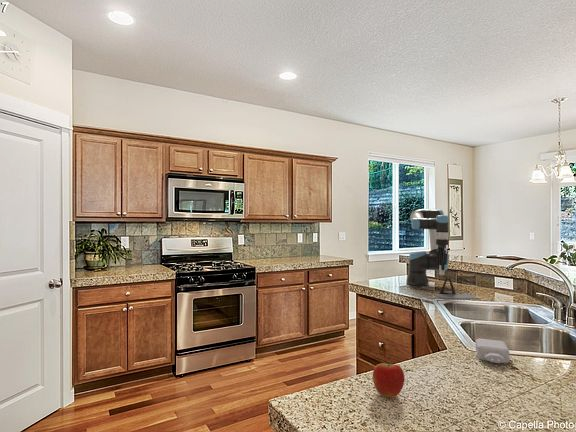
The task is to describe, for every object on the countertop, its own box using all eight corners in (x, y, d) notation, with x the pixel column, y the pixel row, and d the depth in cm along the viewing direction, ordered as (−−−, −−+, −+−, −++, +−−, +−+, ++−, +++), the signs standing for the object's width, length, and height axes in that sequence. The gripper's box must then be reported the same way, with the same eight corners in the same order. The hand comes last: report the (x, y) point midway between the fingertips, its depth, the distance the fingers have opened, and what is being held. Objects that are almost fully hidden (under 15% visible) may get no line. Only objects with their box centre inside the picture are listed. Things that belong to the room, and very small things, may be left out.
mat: (433, 294, 228) (433, 294, 228) (468, 294, 230) (468, 294, 230) (443, 299, 216) (443, 298, 216) (479, 299, 218) (479, 298, 218)
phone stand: (440, 292, 232) (440, 273, 233) (440, 292, 238) (440, 273, 239) (455, 294, 228) (455, 274, 229) (455, 293, 234) (456, 274, 235)
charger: (479, 366, 118) (475, 351, 132) (512, 371, 115) (505, 355, 129) (479, 351, 118) (475, 337, 132) (512, 356, 115) (505, 341, 129)
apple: (370, 400, 95) (370, 361, 95) (374, 386, 103) (375, 350, 103) (403, 406, 92) (403, 366, 92) (405, 391, 100) (405, 354, 100)
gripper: (432, 238, 248) (431, 273, 248) (441, 239, 235) (440, 276, 235) (443, 238, 248) (442, 273, 248) (452, 239, 235) (452, 276, 235)
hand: (441, 274), depth 241 cm, fingers closed
